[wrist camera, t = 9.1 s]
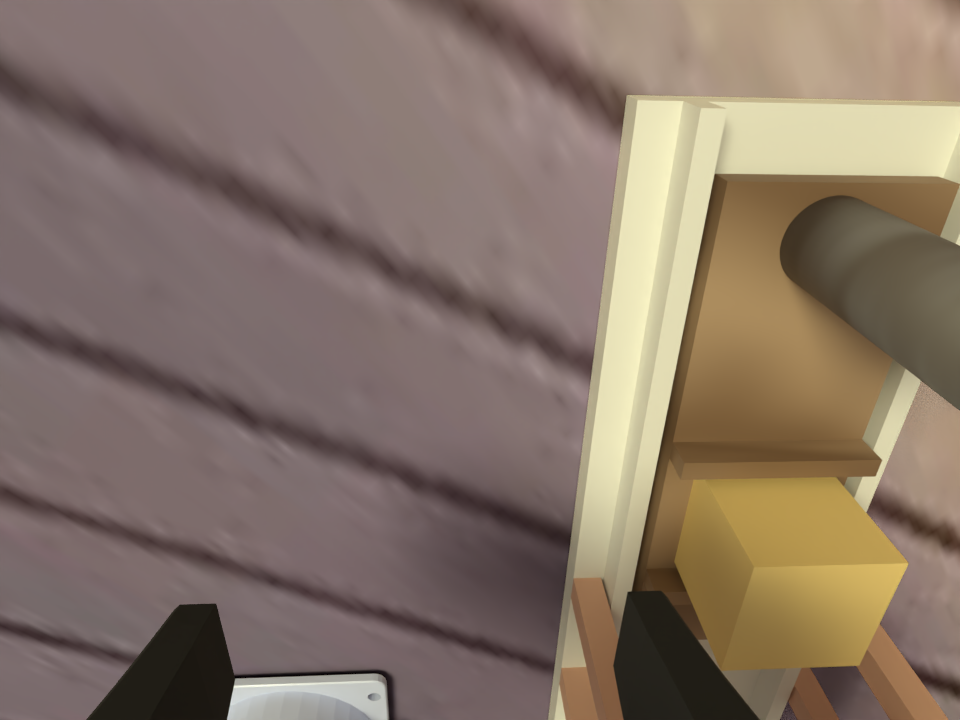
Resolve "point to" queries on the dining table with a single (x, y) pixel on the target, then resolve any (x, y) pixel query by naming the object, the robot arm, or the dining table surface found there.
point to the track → (656, 344)
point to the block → (785, 572)
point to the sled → (800, 337)
